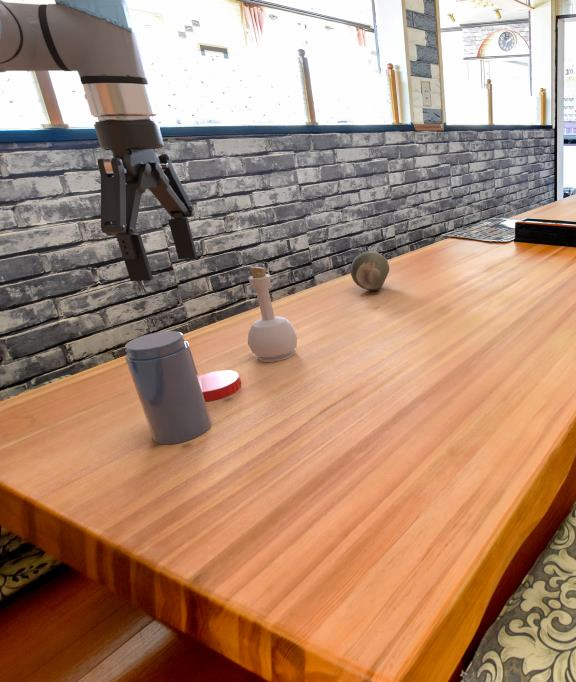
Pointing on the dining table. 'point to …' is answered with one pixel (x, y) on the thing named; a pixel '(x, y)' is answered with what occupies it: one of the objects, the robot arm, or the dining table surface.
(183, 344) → the grey storage canister
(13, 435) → the dining table surface
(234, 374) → the lid
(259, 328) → the potion bottle
